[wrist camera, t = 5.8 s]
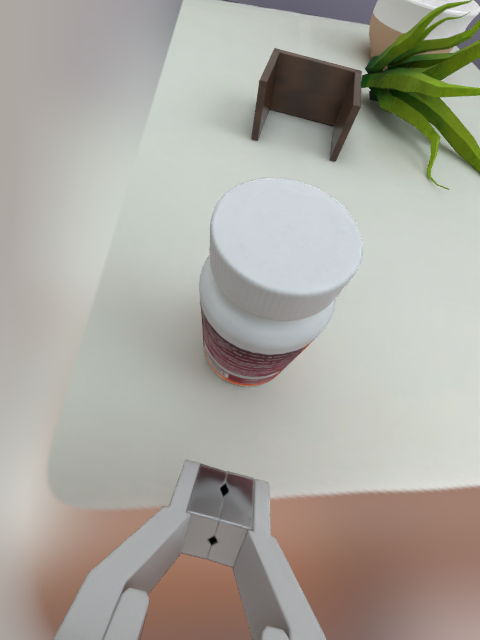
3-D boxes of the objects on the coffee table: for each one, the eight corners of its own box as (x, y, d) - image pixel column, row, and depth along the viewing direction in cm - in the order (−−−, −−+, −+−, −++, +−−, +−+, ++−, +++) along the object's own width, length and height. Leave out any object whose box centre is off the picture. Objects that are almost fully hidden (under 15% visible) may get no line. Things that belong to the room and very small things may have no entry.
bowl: (433, 92, 42) (479, 21, 35) (346, 60, 44) (372, -13, 36) (443, 62, 49) (483, -2, 41) (367, 35, 50) (393, -30, 43)
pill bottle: (290, 388, 17) (408, 315, 7) (201, 388, 16) (187, 308, 6) (281, 310, 20) (357, 175, 10) (204, 307, 19) (199, 159, 9)
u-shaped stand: (251, 139, 30) (259, 80, 25) (264, 105, 34) (274, 47, 29) (335, 161, 30) (360, 106, 25) (339, 124, 34) (361, 70, 29)
